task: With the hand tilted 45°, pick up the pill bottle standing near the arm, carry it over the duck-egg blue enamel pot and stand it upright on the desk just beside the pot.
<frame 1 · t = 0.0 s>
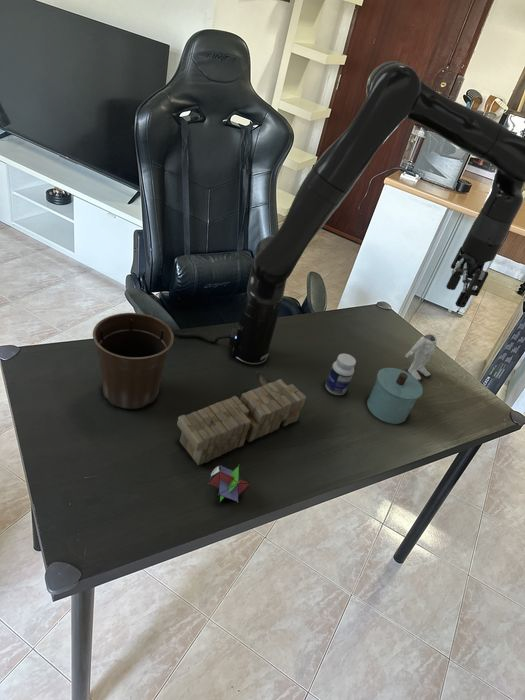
hand: (454, 297, 118), 29 cm above the table, tool pointing down, fingers open, 8 cm apart
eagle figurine: (264, 400, 117), on the table, touching block tower
block tower: (239, 431, 107), on the table, touching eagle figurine
pot: (386, 408, 125), on the table
pill bottle: (335, 389, 127), on the table
plant pot: (129, 391, 110), on the table
geometric puzzle: (226, 494, 93), on the table
toy creature: (415, 373, 141), on the table
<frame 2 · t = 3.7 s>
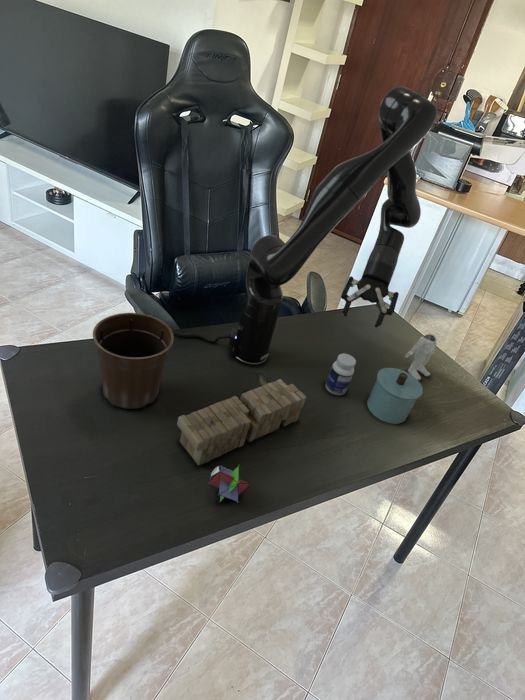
hand: (360, 321, 127), 15 cm above the table, tool tilted 45°, fingers open, 8 cm apart
nothing on the table moved.
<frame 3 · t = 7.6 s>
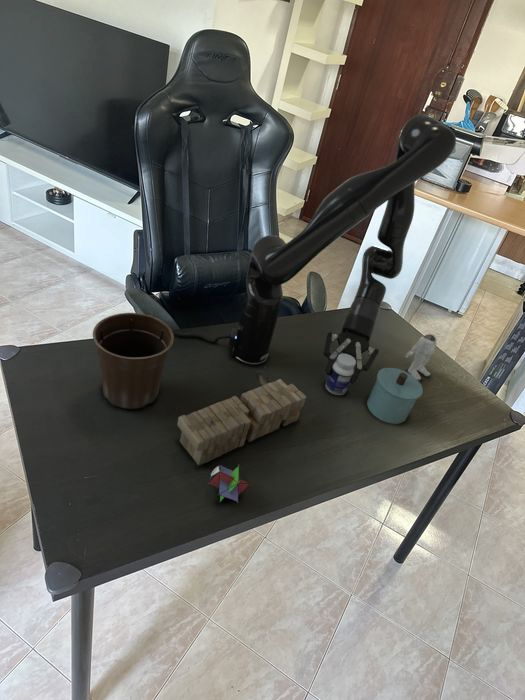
hand: (339, 378, 123), 5 cm above the table, tool tilted 45°, fingers closed on pill bottle, 5 cm apart
pill bottle: (335, 389, 127), on the table, touching gripper
everything else where it was.
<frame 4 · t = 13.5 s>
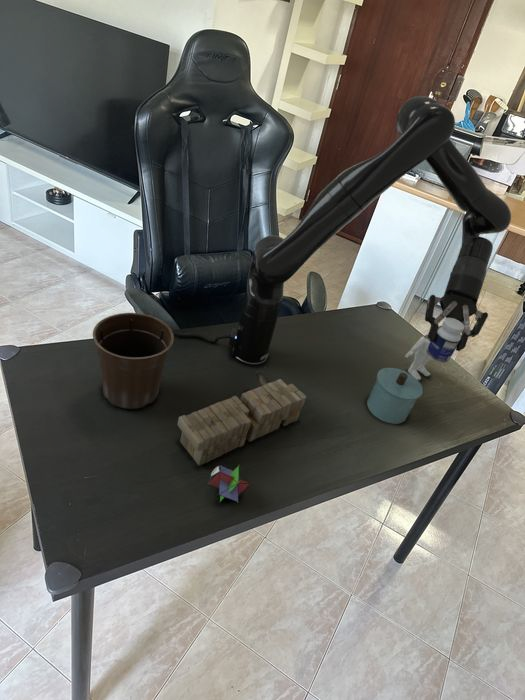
hand: (445, 345, 112), 22 cm above the table, tool tilted 45°, fingers closed on pill bottle, 5 cm apart
pill bottle: (436, 357, 116), point 17 cm above the table, touching gripper
everything else where it was.
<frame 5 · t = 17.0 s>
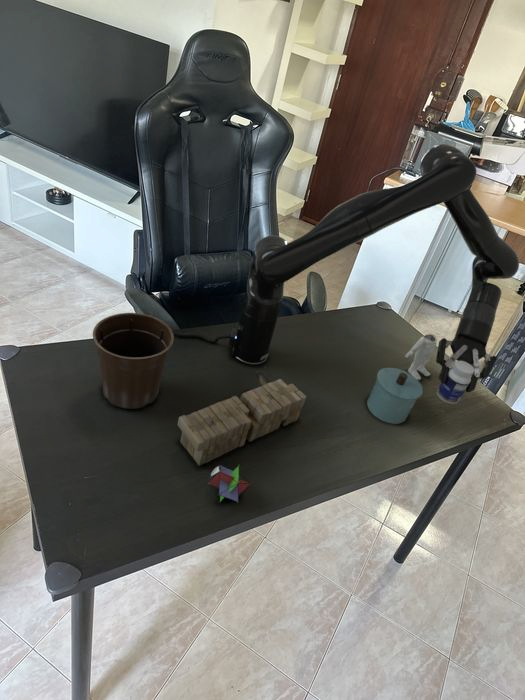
hand: (455, 386, 117), 12 cm above the table, tool tilted 45°, fingers closed on pill bottle, 5 cm apart
pill bottle: (446, 397, 122), point 7 cm above the table, touching gripper
everything else where it was.
when the fingers open (5 cm above the table, at t = 19.6 s): pill bottle stays where it is, on the table.
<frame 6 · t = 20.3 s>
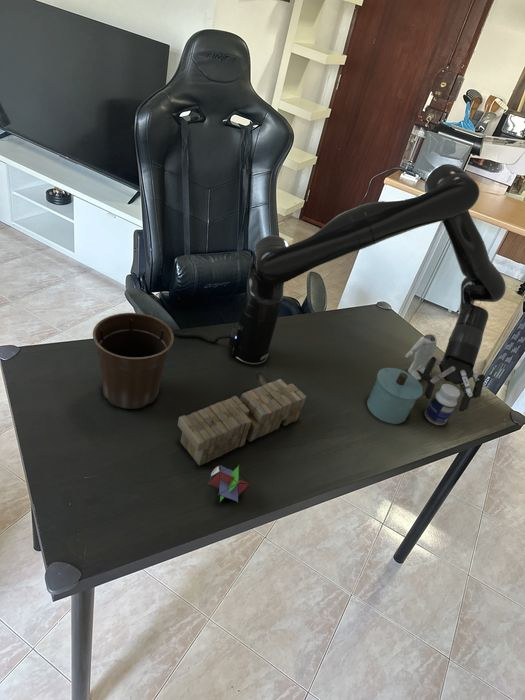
hand: (444, 404, 121), 6 cm above the table, tool tilted 45°, fingers open, 8 cm apart
pill bottle: (434, 418, 126), on the table
everything else where it was.
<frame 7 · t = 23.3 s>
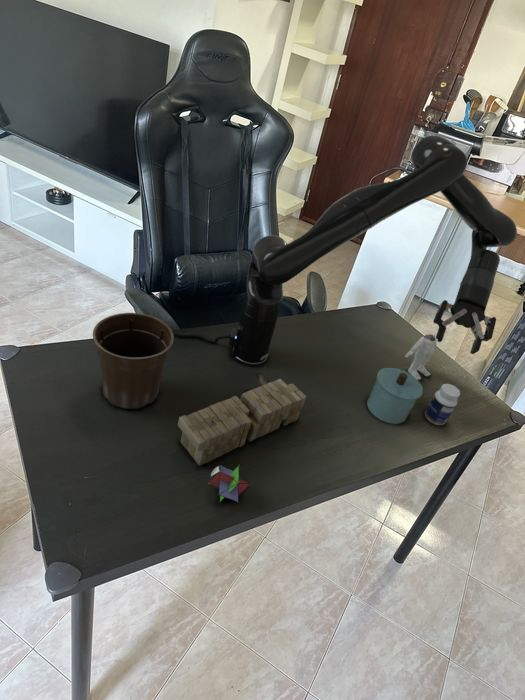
hand: (456, 347, 122), 18 cm above the table, tool tilted 45°, fingers open, 8 cm apart
nothing on the table moved.
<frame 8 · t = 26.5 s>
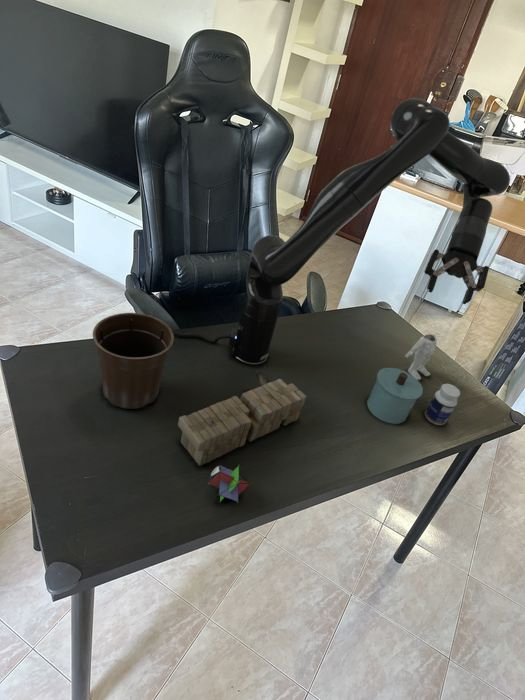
hand: (447, 297, 118), 29 cm above the table, tool tilted 45°, fingers open, 8 cm apart
nothing on the table moved.
at the end: pill bottle inside the target area on the table beside the pot (0.2 cm from its centre), on the table; pill bottle tilted 0°; the gripper is holding nothing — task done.
